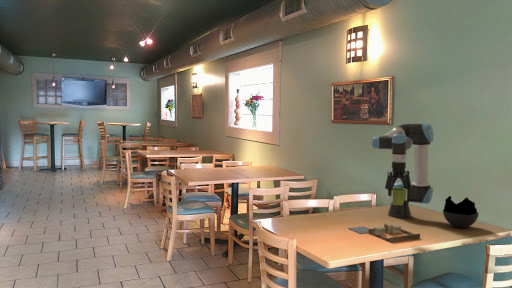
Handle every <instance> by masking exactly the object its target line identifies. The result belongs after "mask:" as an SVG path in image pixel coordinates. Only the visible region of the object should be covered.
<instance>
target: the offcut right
mask: <svg viewBox="0 0 512 288" xmlns="http://www.w3.org/2000/svg"><path fill="white" fill-rule="evenodd" d="M392 225H393V234H394V235H395V234H400V233H402V232H401V229H402V226H401V225H399V224H392Z"/></svg>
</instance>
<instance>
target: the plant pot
mask: <svg viewBox="0 0 512 288" xmlns="http://www.w3.org/2000/svg"><path fill="white" fill-rule="evenodd" d="M392 190H393V202H392V204H393V205H403V204H404V198H405V193H406V191H407V190H406V189H402V188H393V189H392Z"/></svg>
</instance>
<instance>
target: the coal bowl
mask: <svg viewBox="0 0 512 288" xmlns="http://www.w3.org/2000/svg"><path fill="white" fill-rule="evenodd" d="M444 201H445V203H444V207H443V209H442V213H443V214H442V215H443V216H444V219H445V220H446V221H447V222H448V223H449V224H450V225H451V226H453V227H457V228H460V229H462V228H468V227H471V226H473V225H474V224H475V223H476V221H477V220H478V218H479V216H480V215H479V214H480V213H479V212H478V209H477V207H476V206H475V205H476V203H475V202H474V201H472V200H470V199H469V197H465V198H463V199H462V201H459V202H457V203H456V202H455V201H454V200H452V196H451V195H448V197H447V198H445V200H444Z"/></svg>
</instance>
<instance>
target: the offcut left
mask: <svg viewBox="0 0 512 288" xmlns="http://www.w3.org/2000/svg"><path fill="white" fill-rule="evenodd" d="M372 229H373V232H375V233H377V234H380V235H382V236H384V235H386V233H385V228H384V226H382V225H381V226H373V227H372Z"/></svg>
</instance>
